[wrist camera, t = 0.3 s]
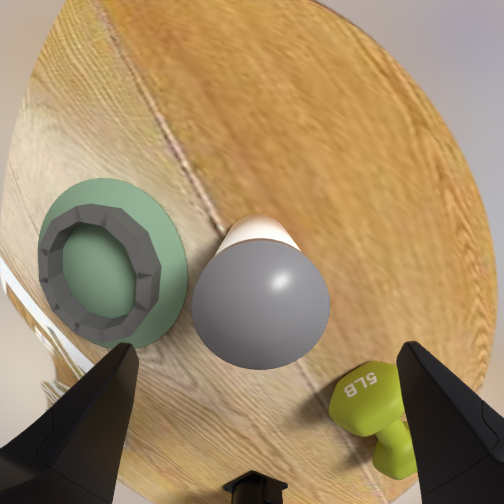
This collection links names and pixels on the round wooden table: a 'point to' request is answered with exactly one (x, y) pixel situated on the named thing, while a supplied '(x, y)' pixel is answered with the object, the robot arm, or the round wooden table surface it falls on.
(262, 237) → the white gray-capped cylinder
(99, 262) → the green round disc
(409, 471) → the dumbbell
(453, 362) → the round wooden table surface
